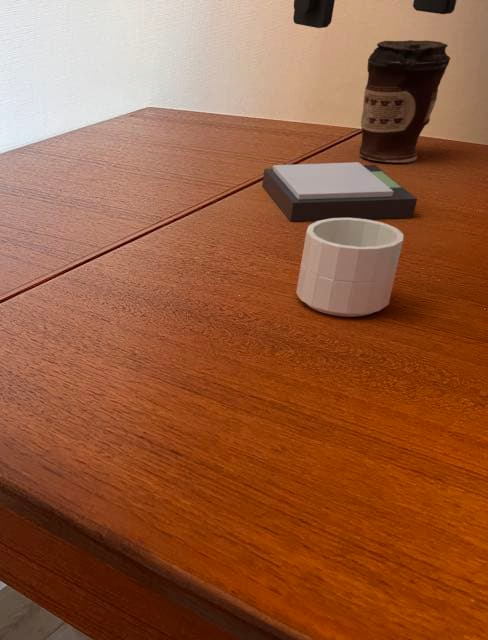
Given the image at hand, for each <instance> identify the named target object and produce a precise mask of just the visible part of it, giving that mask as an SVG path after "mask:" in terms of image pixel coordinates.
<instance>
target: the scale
mask: <svg viewBox="0 0 488 640" xmlns="http://www.w3.org/2000/svg"><path fill="white" fill-rule="evenodd" d="M261 187H262V188H263V189H264V190H265V192H266V193H267V194H268V195H269V197H270V198H271V200H272V201H273V202H274V203H275V204H276V206H277V207H278V208H279V209H280V210H281V212H282V213H283V214H284V215H285V217H286V218H287V219H288V221H289V222H292V223H293V222H317V221H320V220H325V219H330V218H359V219H367V220H386V219H413V218H414V214H415V210H416V205H417V201H418V198H417V197H416V196H415V195H414V194H412V193H411V192H410V191H408V190H407V189H406V188H405V187H404V186H402V185H401V184H400V183H398V182H397V181H395V179H393V178H392V177H391V176H389V175H388V174H387V173H385V172H384V170H382V169H381V168H380V167H379V166H377V165H376V164H362V163H360V162H359V161H354V162H353V161H352V162H325V163H300V164H299V163H298V164H274V165H273V166H272V168H264V169H263V177H262V184H261Z"/></svg>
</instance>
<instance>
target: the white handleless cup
mask: <svg viewBox="0 0 488 640" xmlns="http://www.w3.org/2000/svg"><path fill="white" fill-rule="evenodd" d="M404 237H405V234H404V233H403V232H402V231H401V230H400V229H399V228H398V227H395V226H393V225H391V224H387V223H385V222H383V221H382V222H381V221H376V220H374V219H359V218H330V219H325V220H320V221H314V222H313V223H311V224H309V225H308V226H307V229H306V232H305V238H304V244H303V250H302V254H301V255H302V256H301V263H300V268H299V273H298V280H297V285H296V292H295V293H296V295H297V297H298V298H299V300H300V301H301V302H303V303H305V304H306V306H308V307H310V308H311V309H313V310H314V311H317V312H320V313H324V314H326V315H331V316H336V317H349V318H353V317H354V318H355V317H363V316H367V315H371V314H373V313H376V312H377V313H378V312H380V311H381V310H383V309H385V308H386V307H387V306H389V304H390V300H391V295H392V292H393V287H394V282H395V279H396V278H395V277H396V274H397V270H398V265H399V260H400V256H401V252H402V247H403V243H404Z"/></svg>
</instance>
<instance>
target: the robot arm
mask: <svg viewBox="0 0 488 640" xmlns="http://www.w3.org/2000/svg"><path fill="white" fill-rule="evenodd" d="M335 2H336V0H294V1H293V17H292V19H293V20H292V21H293V23H294V24H295V25H299V26H304V27H305V26H306V27H310V28H314V29H315V28H316V29H324V28H328V27H329V26H330V25H331V23H332V20H333V13H334V7H335ZM456 5H457V0H413V3H412V8H413V9H414V10H415V11H417V12H423V13H432V14H438V15H449V14H452V13H453V12H454V11H455V8H456Z"/></svg>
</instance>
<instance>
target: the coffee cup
mask: <svg viewBox="0 0 488 640" xmlns="http://www.w3.org/2000/svg"><path fill="white" fill-rule="evenodd" d="M376 46H377V47H376V48H374V50H373V52H372V53H371V54H370V55H369V57H368V59H367V66H366V67H367V74H368V75H367V82H366V83H367V84H366V85H365V89H364V93H363V105H362V113H361V118H360V119H361V120H360V125H361V126H360V127H361V131H362V132H361V144H360V148H359V156H360V157H362V158H364V159H367V160H370V161H375V162H376V161H377V162H383V163H398V164H399V163H411V162H414V161H416V160H417V158H418V152H417V149H416V147H417V144H418V141H419V137H420V135H421V133H422V132H423V130H424V128H425V126H427V125H429V123H430V121H431V115H432V112H433V110H434V107H435V105H436V101H437V98H438V93H439V87H440V84H441V81H442V79H443V77H444V75H445V73H446V70H447V67H448V66H449V63H450V60H451V56H449V55H448V54H447V51H446V49H447V48H448V47H449V45H448V44H447V43H444V42H442V41H435V40H412V39H409V40H383V41H379V42H377V44H376Z"/></svg>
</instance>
